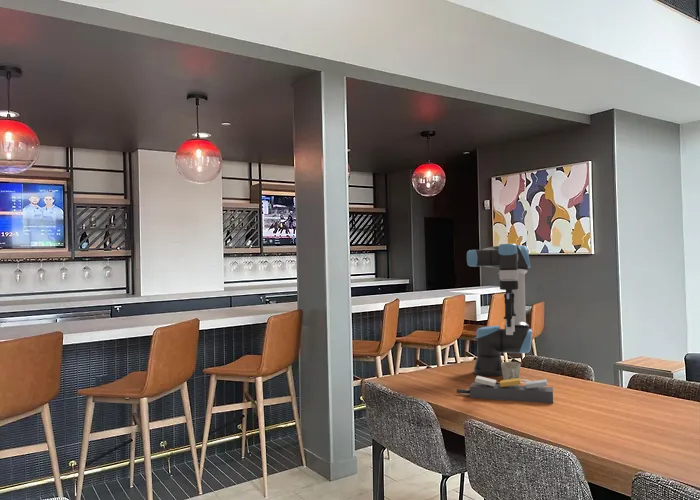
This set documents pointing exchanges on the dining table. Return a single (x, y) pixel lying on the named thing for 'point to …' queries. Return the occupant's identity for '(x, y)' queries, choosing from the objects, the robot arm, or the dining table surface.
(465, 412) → the dining table surface
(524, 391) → the power strip
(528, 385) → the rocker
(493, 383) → the block
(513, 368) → the mug
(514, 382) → the block
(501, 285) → the robot arm
